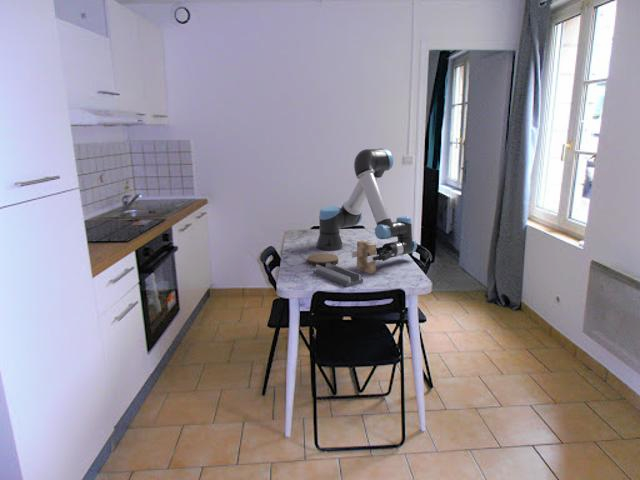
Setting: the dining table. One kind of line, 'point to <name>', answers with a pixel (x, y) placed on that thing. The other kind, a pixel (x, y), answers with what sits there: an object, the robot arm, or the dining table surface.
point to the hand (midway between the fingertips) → (359, 257)
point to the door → (365, 256)
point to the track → (338, 275)
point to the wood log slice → (322, 259)
